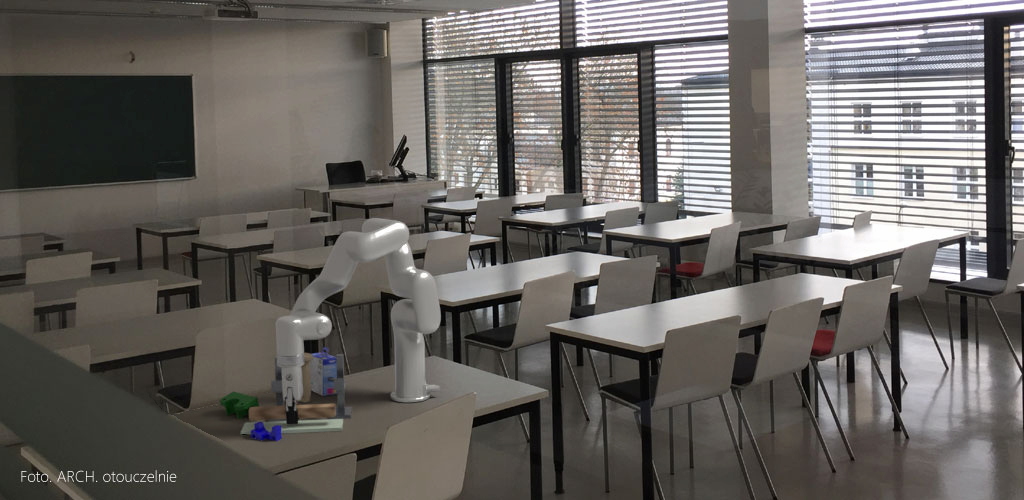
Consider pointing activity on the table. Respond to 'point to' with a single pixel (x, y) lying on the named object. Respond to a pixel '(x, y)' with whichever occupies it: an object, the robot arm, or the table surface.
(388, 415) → the table surface
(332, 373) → the ink cartridge box
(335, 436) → the table surface
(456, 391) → the table surface
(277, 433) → the cable holder
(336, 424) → the board
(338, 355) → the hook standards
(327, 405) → the rail
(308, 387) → the handle
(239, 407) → the clamp
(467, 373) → the table surface
